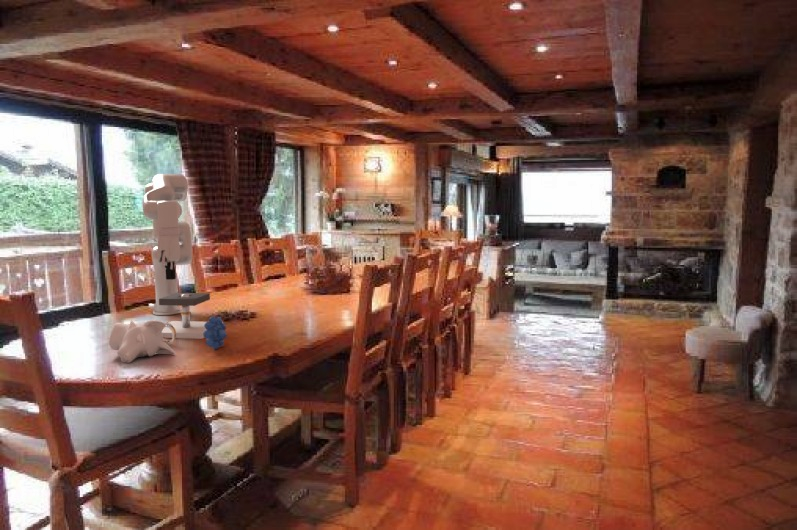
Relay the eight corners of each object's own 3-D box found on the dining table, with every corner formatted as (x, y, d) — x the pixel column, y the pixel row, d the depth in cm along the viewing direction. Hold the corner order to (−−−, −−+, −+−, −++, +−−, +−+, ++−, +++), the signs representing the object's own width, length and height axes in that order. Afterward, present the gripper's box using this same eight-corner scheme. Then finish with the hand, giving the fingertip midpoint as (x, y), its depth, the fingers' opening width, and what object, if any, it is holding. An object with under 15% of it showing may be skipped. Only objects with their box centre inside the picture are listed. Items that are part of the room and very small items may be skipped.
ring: (178, 344, 198) (177, 322, 197) (171, 346, 195) (170, 324, 194) (163, 342, 201) (162, 321, 200) (156, 344, 198) (155, 322, 197)
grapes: (216, 354, 185) (214, 319, 184) (199, 352, 187) (197, 318, 186) (235, 346, 196) (234, 313, 195) (219, 344, 198) (218, 312, 197)
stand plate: (146, 337, 208) (146, 332, 208) (172, 325, 228) (172, 320, 228) (202, 338, 206) (202, 333, 206) (223, 326, 226) (223, 321, 226)
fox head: (88, 344, 170) (152, 340, 169) (113, 314, 185) (172, 310, 184) (102, 378, 176) (164, 374, 176) (125, 347, 191) (182, 343, 191)
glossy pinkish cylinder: (179, 327, 215) (178, 295, 214) (184, 325, 219) (182, 293, 217) (188, 328, 215) (187, 295, 213) (192, 325, 219) (191, 294, 217)
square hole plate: (159, 305, 209) (158, 298, 209) (176, 298, 223) (176, 292, 223) (194, 305, 208) (194, 299, 208) (209, 299, 222) (209, 293, 222)
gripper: (169, 231, 221) (171, 277, 222) (149, 233, 206) (151, 281, 208) (186, 231, 220) (188, 277, 222) (168, 233, 205) (170, 281, 207)
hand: (170, 279), depth 215 cm, fingers closed
